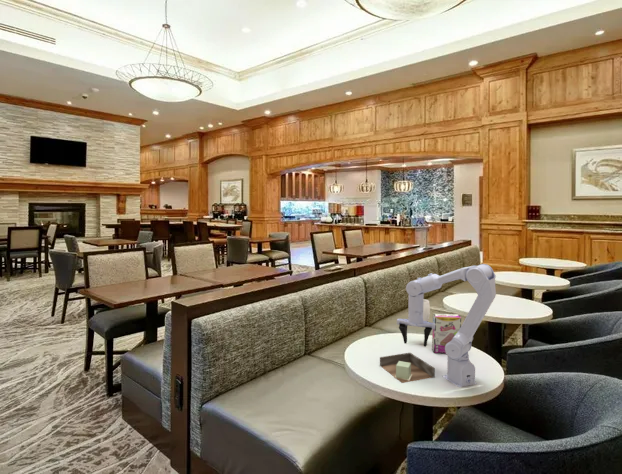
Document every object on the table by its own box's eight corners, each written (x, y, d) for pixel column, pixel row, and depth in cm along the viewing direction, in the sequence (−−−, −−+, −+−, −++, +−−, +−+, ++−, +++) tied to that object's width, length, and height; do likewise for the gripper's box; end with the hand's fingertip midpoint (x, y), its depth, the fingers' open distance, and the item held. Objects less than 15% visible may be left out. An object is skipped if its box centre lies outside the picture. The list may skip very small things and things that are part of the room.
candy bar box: (434, 353, 165) (434, 316, 163) (431, 349, 170) (432, 313, 168) (460, 354, 164) (461, 317, 162) (457, 350, 169) (458, 313, 167)
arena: (434, 378, 141) (434, 368, 141) (400, 384, 136) (401, 374, 136) (409, 361, 156) (410, 352, 156) (378, 367, 151) (379, 357, 151)
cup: (411, 342, 179) (411, 298, 177) (426, 341, 179) (426, 298, 177) (416, 347, 172) (416, 302, 170) (431, 347, 172) (432, 302, 170)
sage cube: (410, 374, 143) (410, 362, 142) (408, 379, 139) (408, 367, 138) (398, 372, 145) (399, 360, 144) (395, 377, 141) (396, 365, 140)
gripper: (395, 310, 149) (394, 344, 150) (433, 315, 142) (432, 350, 143) (399, 306, 155) (398, 339, 156) (436, 310, 149) (435, 344, 150)
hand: (415, 344), depth 150 cm, fingers open, 7 cm apart
